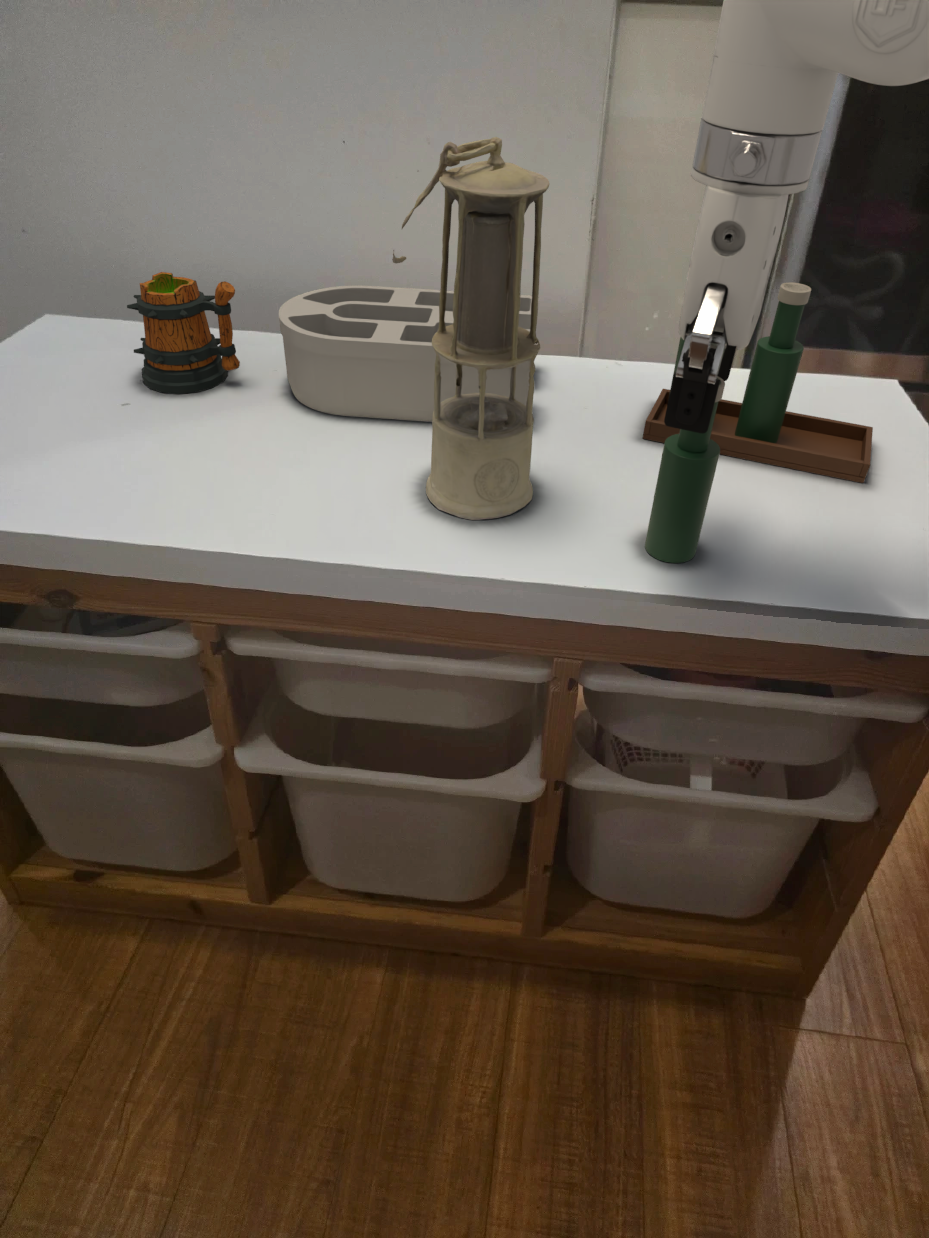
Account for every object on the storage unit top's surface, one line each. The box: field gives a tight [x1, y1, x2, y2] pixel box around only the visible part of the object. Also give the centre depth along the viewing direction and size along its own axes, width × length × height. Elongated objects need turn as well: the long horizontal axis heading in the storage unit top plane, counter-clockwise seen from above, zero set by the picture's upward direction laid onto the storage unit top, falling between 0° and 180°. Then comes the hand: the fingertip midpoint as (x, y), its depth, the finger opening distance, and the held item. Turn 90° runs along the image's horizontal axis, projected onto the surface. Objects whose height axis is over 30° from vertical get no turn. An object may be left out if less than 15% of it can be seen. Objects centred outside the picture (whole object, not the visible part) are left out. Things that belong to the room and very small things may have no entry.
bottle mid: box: [735, 282, 812, 443], centre depth 85 cm, size 4×4×16 cm
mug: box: [126, 271, 241, 395], centre depth 96 cm, size 13×10×12 cm
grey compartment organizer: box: [278, 284, 540, 423], centre depth 96 cm, size 17×28×9 cm, turn 84°
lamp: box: [391, 136, 550, 521], centre depth 72 cm, size 10×13×30 cm
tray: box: [642, 388, 874, 484], centre depth 90 cm, size 22×9×2 cm, turn 68°
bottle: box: [644, 376, 726, 564], centre depth 70 cm, size 4×4×16 cm
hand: (697, 401), depth 66 cm, fingers open, 9 cm apart
